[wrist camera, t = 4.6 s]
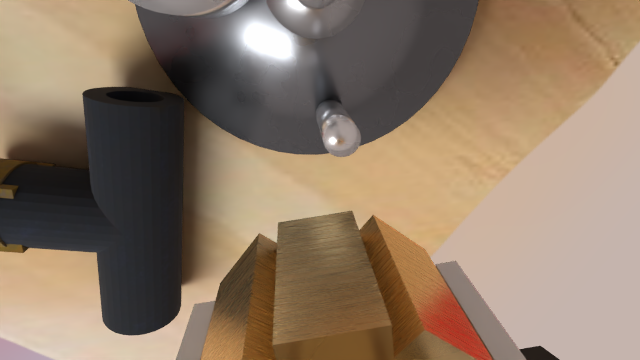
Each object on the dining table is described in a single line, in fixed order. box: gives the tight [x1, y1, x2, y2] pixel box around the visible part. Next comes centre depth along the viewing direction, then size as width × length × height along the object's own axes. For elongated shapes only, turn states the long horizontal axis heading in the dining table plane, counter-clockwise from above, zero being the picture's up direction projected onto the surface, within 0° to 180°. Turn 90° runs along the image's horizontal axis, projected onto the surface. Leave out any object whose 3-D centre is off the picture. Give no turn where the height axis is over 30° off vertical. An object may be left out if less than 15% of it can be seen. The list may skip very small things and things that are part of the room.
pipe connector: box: [0, 87, 184, 335], centre depth 22 cm, size 12×5×15 cm
